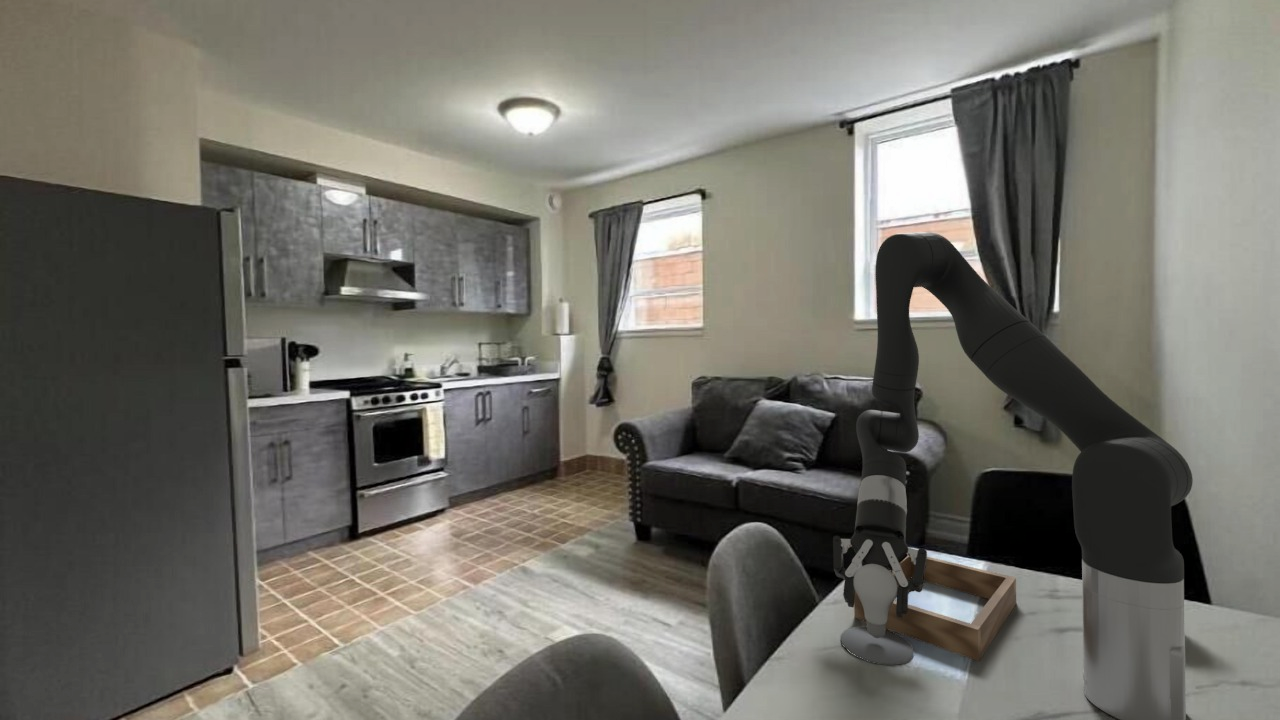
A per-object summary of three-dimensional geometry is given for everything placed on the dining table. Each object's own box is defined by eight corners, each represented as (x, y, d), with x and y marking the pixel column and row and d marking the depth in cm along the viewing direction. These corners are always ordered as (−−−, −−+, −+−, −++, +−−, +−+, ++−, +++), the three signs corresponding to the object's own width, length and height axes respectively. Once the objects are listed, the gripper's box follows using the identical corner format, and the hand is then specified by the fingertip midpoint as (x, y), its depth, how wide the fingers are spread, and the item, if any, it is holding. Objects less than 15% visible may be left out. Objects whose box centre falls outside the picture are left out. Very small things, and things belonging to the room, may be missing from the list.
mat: (923, 645, 80) (923, 642, 80) (898, 674, 73) (898, 671, 73) (857, 622, 87) (857, 619, 87) (829, 646, 80) (829, 643, 80)
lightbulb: (866, 622, 84) (864, 554, 84) (905, 637, 80) (904, 565, 80) (847, 636, 80) (845, 565, 80) (887, 653, 76) (885, 577, 76)
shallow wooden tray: (1016, 603, 92) (1015, 577, 92) (978, 661, 76) (978, 629, 75) (907, 574, 105) (906, 551, 105) (854, 617, 88) (854, 591, 88)
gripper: (833, 492, 90) (820, 590, 80) (929, 503, 83) (928, 611, 73) (839, 515, 95) (827, 609, 84) (930, 526, 87) (930, 631, 77)
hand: (874, 609), depth 79 cm, fingers closed on lightbulb, 6 cm apart
